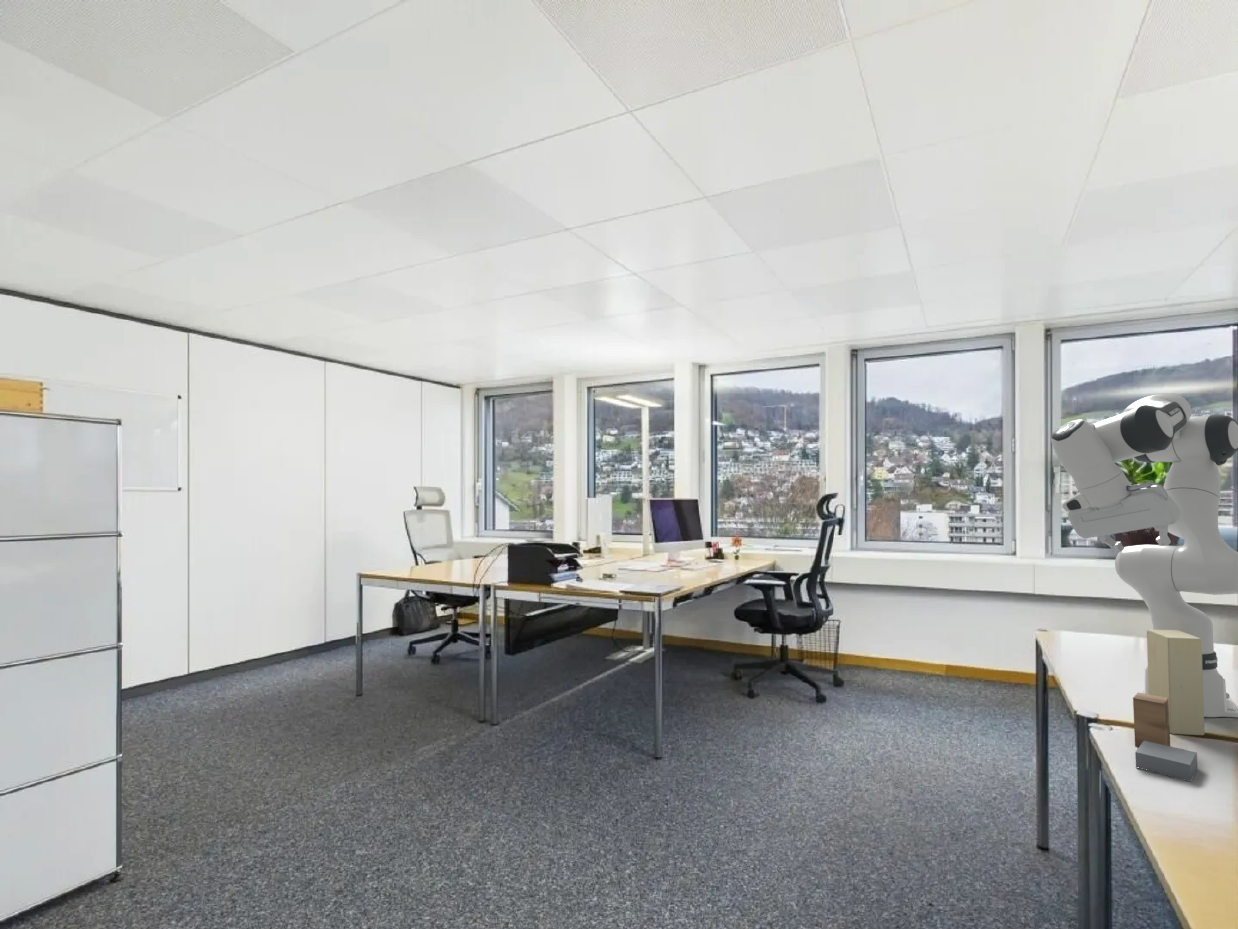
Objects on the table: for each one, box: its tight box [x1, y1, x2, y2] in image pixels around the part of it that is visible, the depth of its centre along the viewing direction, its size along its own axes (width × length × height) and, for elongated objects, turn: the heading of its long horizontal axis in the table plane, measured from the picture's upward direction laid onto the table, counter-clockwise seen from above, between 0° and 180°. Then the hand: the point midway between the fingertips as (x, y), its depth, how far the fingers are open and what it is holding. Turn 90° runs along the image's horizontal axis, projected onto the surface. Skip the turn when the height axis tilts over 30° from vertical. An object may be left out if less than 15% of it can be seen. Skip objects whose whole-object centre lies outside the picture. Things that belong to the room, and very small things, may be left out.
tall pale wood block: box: [1146, 629, 1205, 736], centre depth 145 cm, size 8×7×21 cm
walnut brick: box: [1132, 692, 1171, 747], centre depth 135 cm, size 5×5×10 cm
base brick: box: [1134, 741, 1198, 782], centre depth 125 cm, size 8×8×3 cm
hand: (1141, 547), depth 138 cm, fingers open, 8 cm apart
